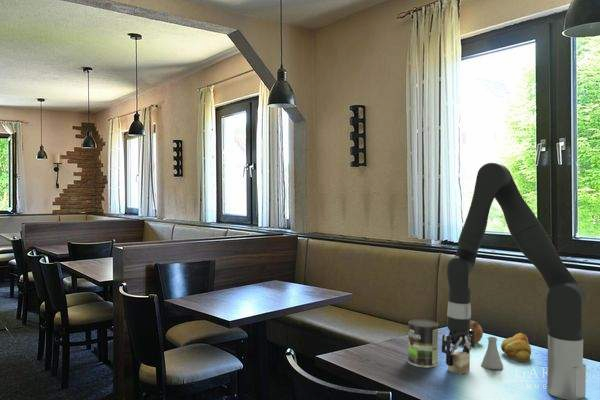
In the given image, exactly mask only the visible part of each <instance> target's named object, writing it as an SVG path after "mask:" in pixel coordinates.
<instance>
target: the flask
mask: <svg viewBox="0 0 600 400" xmlns="http://www.w3.org/2000/svg"><path fill="white" fill-rule="evenodd" d="M487 340H488V341H487V349H486V351H485V354H484V357H483V359H482V361H481V366H482V367H483V368H484V369H490V370H503V368H504V365H503V362H502V359H501V357H500V353H499V350H498V345H497V344H498V343H497V342H498V337H496V336H488V337H487Z"/></svg>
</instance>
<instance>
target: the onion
mask: <svg viewBox="0 0 600 400" xmlns="http://www.w3.org/2000/svg"><path fill="white" fill-rule="evenodd" d="M470 330H474V345H475V344H478V343H479V342H480V341H481V340H482V338H483V334H484V331H483V328H482V327H481V325H480V324H479V323H478V322H477V321H475V320H471V329H470ZM469 343H471V340H469Z"/></svg>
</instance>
